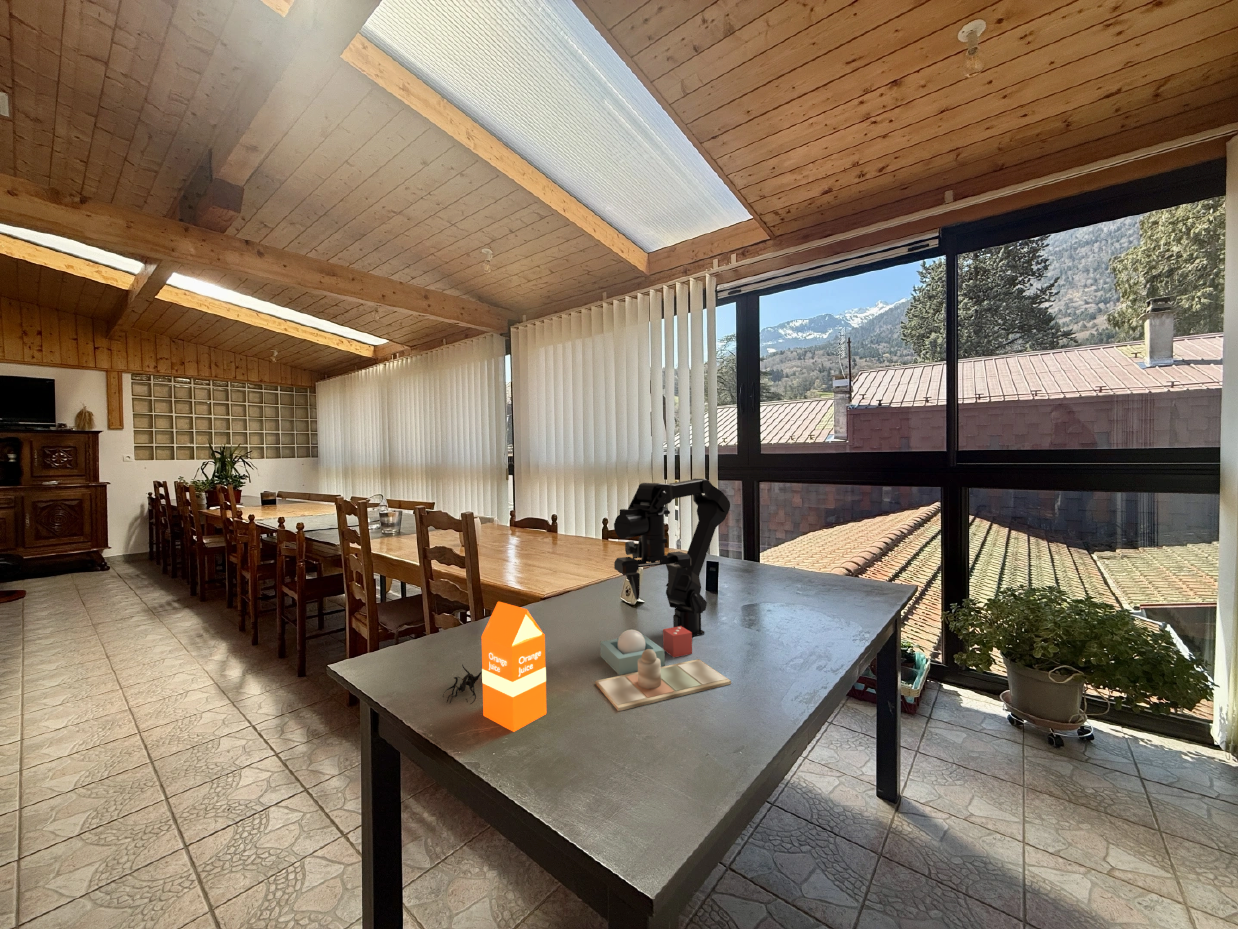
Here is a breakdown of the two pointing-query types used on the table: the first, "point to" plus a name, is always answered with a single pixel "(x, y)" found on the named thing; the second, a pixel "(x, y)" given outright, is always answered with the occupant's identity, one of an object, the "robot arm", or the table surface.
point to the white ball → (631, 642)
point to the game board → (673, 684)
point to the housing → (627, 655)
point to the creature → (464, 684)
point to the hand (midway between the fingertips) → (653, 596)
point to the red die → (677, 641)
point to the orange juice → (513, 668)
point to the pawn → (649, 670)
